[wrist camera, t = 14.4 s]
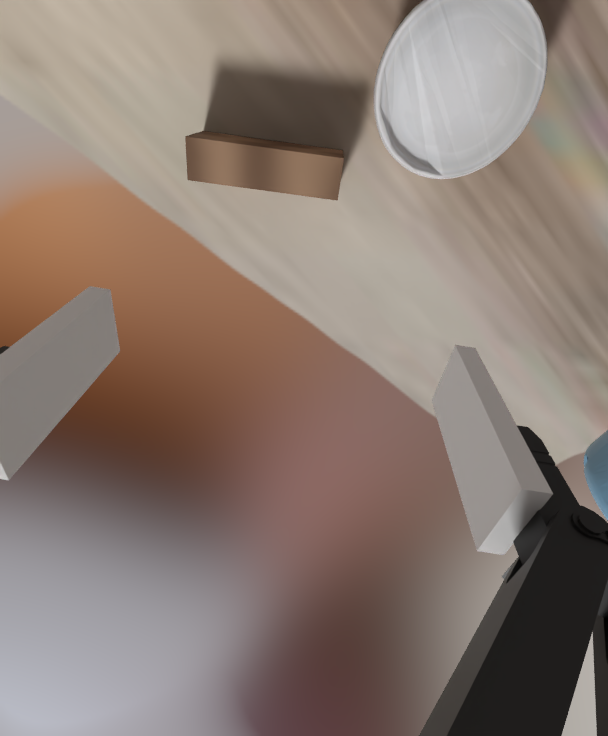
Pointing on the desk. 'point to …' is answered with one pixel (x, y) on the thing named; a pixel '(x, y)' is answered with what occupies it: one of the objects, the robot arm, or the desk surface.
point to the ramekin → (459, 84)
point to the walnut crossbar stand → (264, 164)
